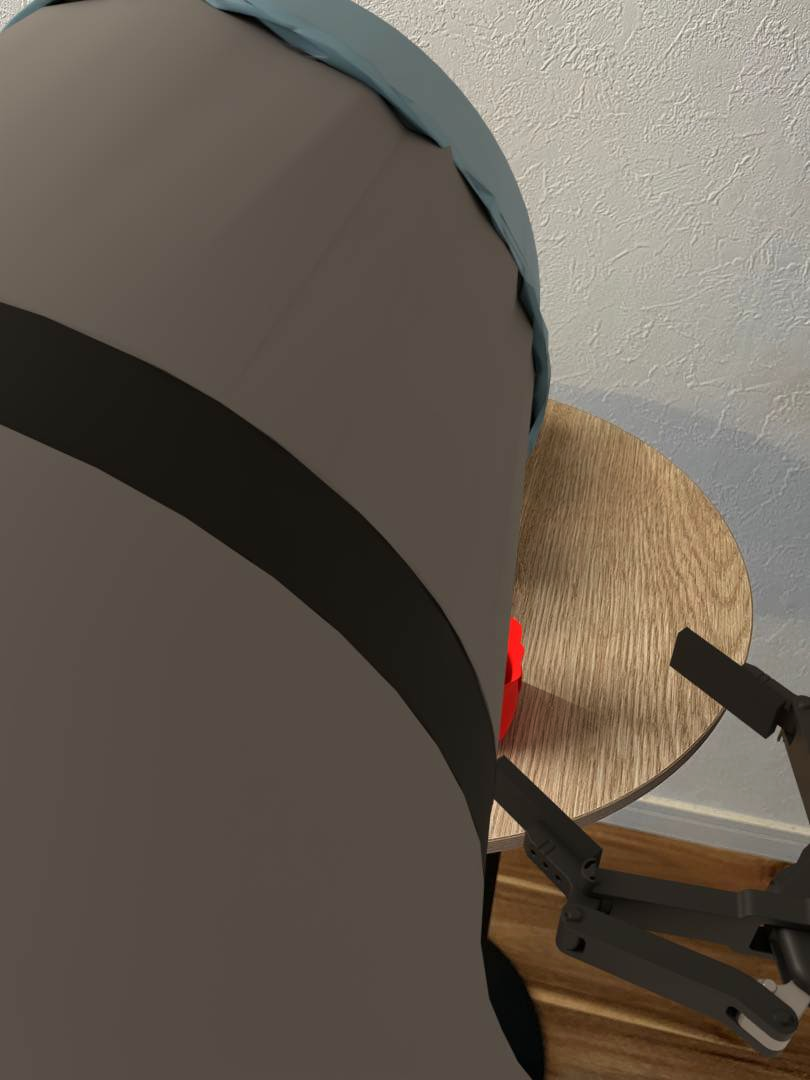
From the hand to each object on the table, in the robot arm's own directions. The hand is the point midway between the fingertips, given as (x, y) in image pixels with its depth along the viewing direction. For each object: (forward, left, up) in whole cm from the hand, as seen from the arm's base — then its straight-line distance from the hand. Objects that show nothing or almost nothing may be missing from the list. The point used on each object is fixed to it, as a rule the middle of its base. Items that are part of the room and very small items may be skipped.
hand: (592, 706), depth 51 cm
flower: (+3, +9, -12) cm, 15 cm away
